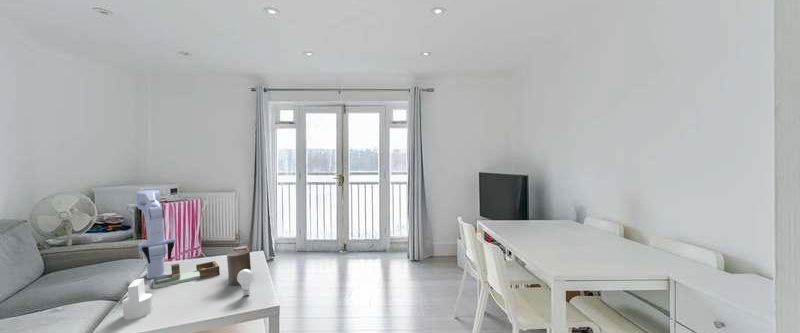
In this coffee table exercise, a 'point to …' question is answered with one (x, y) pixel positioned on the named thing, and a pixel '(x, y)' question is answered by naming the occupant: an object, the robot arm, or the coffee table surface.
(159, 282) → the rail
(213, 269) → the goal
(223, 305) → the coffee table surface
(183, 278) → the plate
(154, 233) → the robot arm
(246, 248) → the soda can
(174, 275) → the block
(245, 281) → the lightbulb
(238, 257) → the pillar candle
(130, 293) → the cylinder with rectangular tab
